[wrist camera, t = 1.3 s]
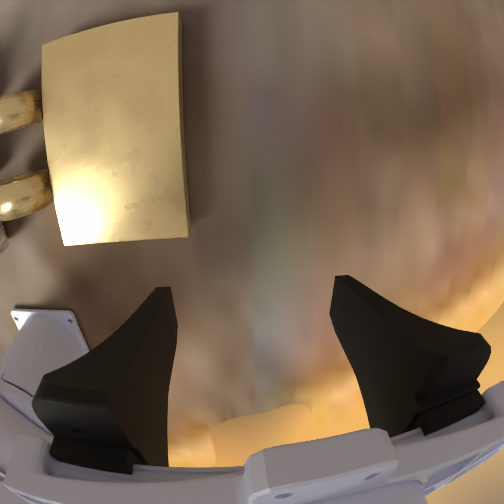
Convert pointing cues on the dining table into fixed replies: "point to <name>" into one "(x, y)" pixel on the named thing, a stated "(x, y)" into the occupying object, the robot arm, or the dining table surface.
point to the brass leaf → (107, 134)
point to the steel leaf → (3, 238)
